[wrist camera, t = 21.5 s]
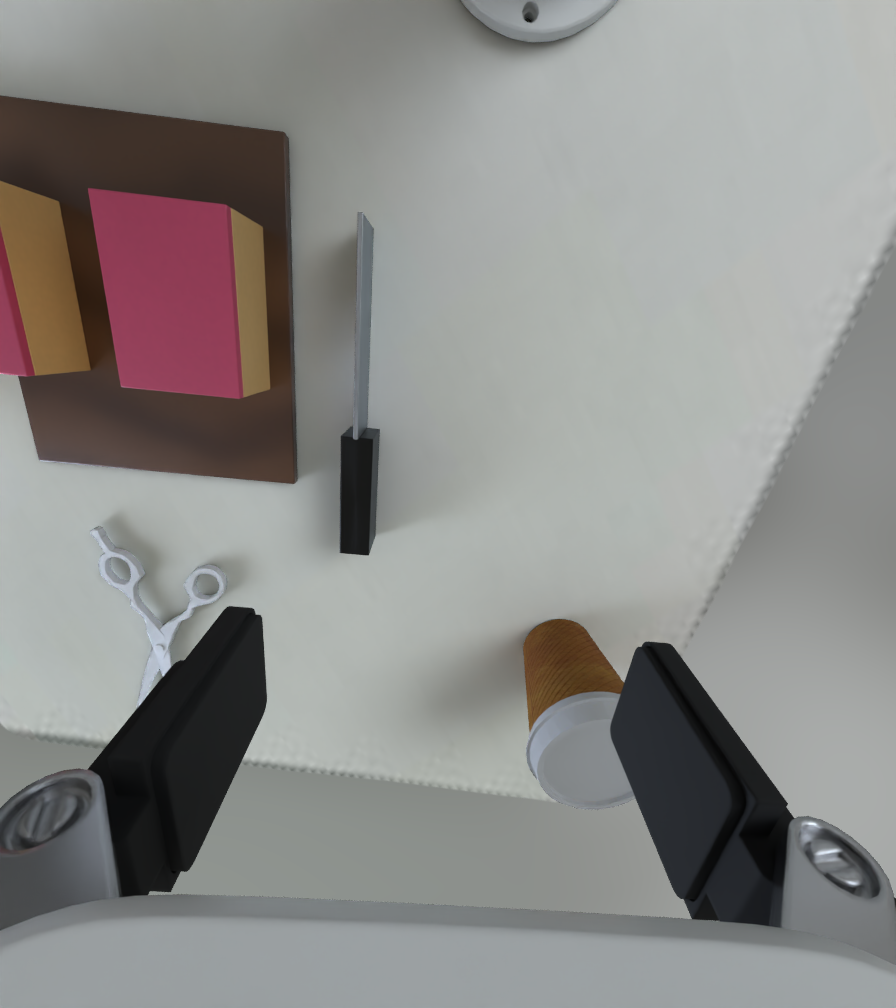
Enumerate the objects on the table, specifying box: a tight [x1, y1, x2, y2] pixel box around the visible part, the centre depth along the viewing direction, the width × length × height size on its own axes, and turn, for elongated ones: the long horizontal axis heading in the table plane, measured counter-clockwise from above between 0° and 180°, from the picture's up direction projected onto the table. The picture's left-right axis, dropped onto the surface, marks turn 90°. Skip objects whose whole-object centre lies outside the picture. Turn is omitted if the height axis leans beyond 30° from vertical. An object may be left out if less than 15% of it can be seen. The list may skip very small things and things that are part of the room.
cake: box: [88, 188, 270, 399], centre depth 26 cm, size 10×7×5 cm
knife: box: [340, 212, 380, 555], centre depth 30 cm, size 22×2×4 cm, turn 174°
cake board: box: [0, 96, 297, 484], centre depth 29 cm, size 22×19×1 cm
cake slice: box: [0, 181, 91, 376], centre depth 26 cm, size 10×4×5 cm, turn 174°
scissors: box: [90, 526, 227, 709], centre depth 39 cm, size 11×1×20 cm
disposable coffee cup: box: [523, 619, 635, 809], centre depth 35 cm, size 10×10×12 cm
